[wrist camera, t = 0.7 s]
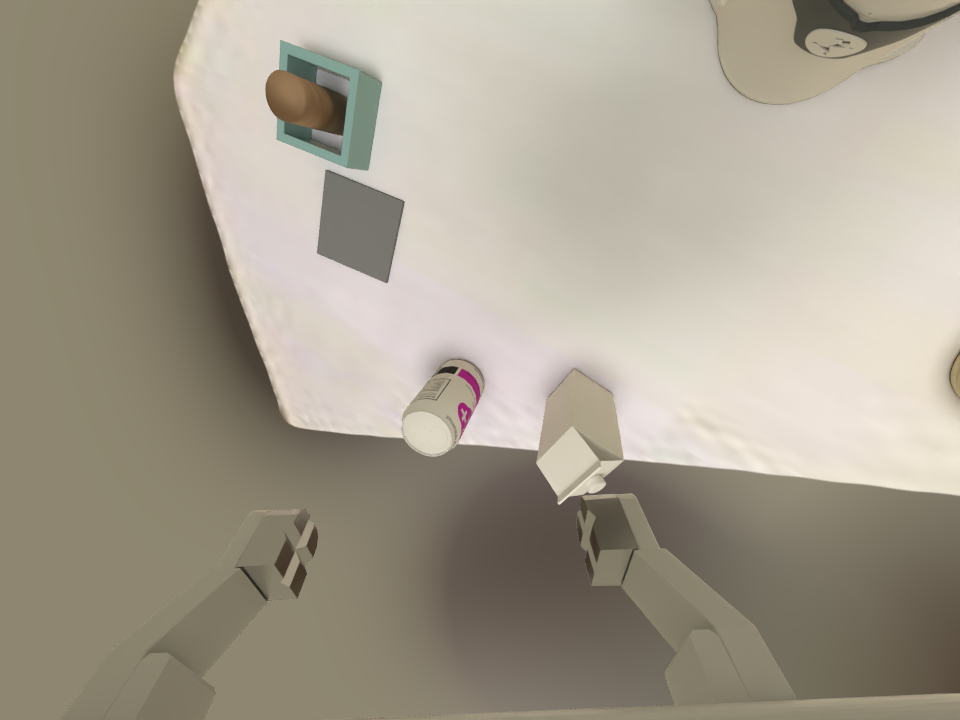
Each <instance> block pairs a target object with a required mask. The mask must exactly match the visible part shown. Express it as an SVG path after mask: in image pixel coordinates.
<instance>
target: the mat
mask: <svg viewBox="0 0 960 720" xmlns="http://www.w3.org/2000/svg"><path fill="white" fill-rule="evenodd" d="M403 207H404V201H402V200H399V199H397V198H394V197H392V196H389V195H387V194H384V193H382V192H380V191H377V190H375V189H372V188H370V187H367V186H365V185H362V184H360V183H357V182H355V181H353V180H350V179H348V178H345V177H343V176H340V175H338V174H335V173H333V172H331V171H328V170H326V171H325V181H324V191H323V200H322V210H321V220H320V230H319V240H318V250H317V253H318V254H320V255H322V256H325V257H327V258H329V259H332V260H334V261H336V262H339V263H341V264H343V265H346V266H348V267H350V268H353V269H355V270H357V271H360V272H362V273H364V274H367V275H369V276H371V277H373V278H376V279H378V280H380V281H383V282H385V283H387V282H388V278H389V274H390V269H391V264H392V259H393V254H394V250H395V245H396V240H397V235H398V231H399V226H400V221H401V216H402V212H403Z"/></svg>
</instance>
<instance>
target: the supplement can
mask: <svg viewBox="0 0 960 720" xmlns="http://www.w3.org/2000/svg"><path fill="white" fill-rule="evenodd" d="M483 389H484V381H483V378H482V376H481V374H480V372H479V371H478V370H477V369H476V368H475V367H474V366H473V365H472V364H470V363H468V362H466V361H462V360H451V361H448V362H446V363H444V364H442V365H441V367H440V368H439V369H438V370H437V372H436V373H435V374H434V375H433V376H432V378H431V379H430V380H429V381H428V383H427V384H426V385H425V386H424V387H423V389H422V390H421V391H420V392H419V394H418V395H417V396H416V397H415V398H414V400H413V401H412V402H411V403H410V405H409V406H408V407H407V409H406V410H405V411H404V413H403V418H402V427H401V430H402V435H403V437H404V439H405V441H406V442H407V444H408V445H409V446H410V447H411V448H412V449H413V450H415V451H417V452H419V453H421V454H423V455H427V456H440V455H442V454H444V453H446V452H447V451H449V450H451V449H453V448H454V447H455V445H456V444H457V443H458V442H459V440H460V438H461V436H462V434H463V432H464V430H465V428H466V426H467V424H468V422H469V420H470V418H471V416H472V414H473V412H474V410H475V408H476V406H477V404H478V402H479V399H480V397H481V395H482V393H483Z"/></svg>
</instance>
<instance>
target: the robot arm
mask: <svg viewBox="0 0 960 720" xmlns="http://www.w3.org/2000/svg"><path fill="white" fill-rule="evenodd" d="M710 2H711V4H712V7H713V9H714V11H715V13H716V15H717V20H718V51H719V57H720V61H721V65H722V68H723V70H724V72H725V74H726V76H727V78H728V80H729V81H730V83H731V84H732V85H733V86H734V87H735V88H736V89H737V90H738V91H739V92H740V93H742V94H743V95H745V96H746V97H748V98H750V99H752V100H755V101H758V102H762V103H767V104H788V103H794V102H799V101H803V100H806V99H809V98H812V97H814V96H817V95H819V94H821V93H823V92H825V91H827V90H829V89H831V88H833V87H834V86H836V85H838V84H839V83H841V82H842V81H844V80H845V79H847V78H848V77H850V76H851V75H853V74H854V73H856V72H857V71H859V70H861V69H863V68H865V67H867V66H870V65H873V64H877V63H880V62H884V61H887V60H890V59H892V58H895V57H897V56H899V55H901V54H903V53H905V52H906V51H908V50H910V49H911V48H913V47H914V46H915V45H917V44H918V42H919V41H920V40H921V39H922V37H923V36H924V34H925V32H927V31H928V30H930V29H932V28H933V27H935V26H936V25H938V24H940V23H941V22H943V21H945V20H947V19H949V18H951V17H952V16H954V15H956V14H957V13H959V12H960V0H710ZM579 506H580V509H581V510H580V511H579V512H578V513H577V520H576V522H577V533H578V538H579V541H580V545H581V547H582V548H583V549H584V550H585V551H586V558H585V564H586V568H587V571H588V575H589V579H590V583H591V585H592V586H605V585H606V586H607V585H622V588H623V589H624V590H625V592H626V593H627V594H628V595H629V596H630V598H631V599H632V600H633V601H634V602H635V604H636V605H637V606H638V607H639V608H640V610H641V611H642V612H643V613H644V614H645V616H646V617H647V618H648V619H649V620H650V621H651V623H652V624H653V625H654V626H655V627H656V629H657V630H658V631H659V632H660V633H661V635H662V636H663V637H664V638H665V639H666V641H667V642H668V643H669V644H670V645H671V647H672V648H673V649H674V650H675V651H676V653H677V654H676V656H675V657H674V659H673V660H672V662H671V664H670V665H669V666H668V668H667V670H666V672H665V674H664V675H665V678H666V681H667V684H668V686H669V689H670V692H671V695H672V697H673V701H674V703H675V705H665V706H643V707H642V706H641V707H618V708H617V707H616V708H594V709H569V710H545V711H522V712H498V713H473V714H450V715H428V716H427V715H425V716H403V717H378V718H354V719H332V720H960V693H958V694H928V695H903V696H879V697H855V698H832V699H807V700H797V698H796V696H795V695H794V693H793V691H792V689H791V688H790V686H789V684H788V683H787V681H786V679H785V677H784V676H783V674H782V672H781V670H780V669H779V667H778V665H777V663H776V662H775V660H774V658H773V656H772V655H771V653H770V651H769V650H768V648H767V646H766V645H765V643H764V641H763V639H762V637H761V636H760V634H759V632H758V630H757V629H756V627H755V626H754V625H753V624H752V623H751V622H750V621H749V620H747V619H746V618H745V617H744V616H743V615H742V614H740V613H739V612H738V611H737V610H736V609H735V608H733V607H732V606H731V605H730V604H729V603H728V602H727V601H725V600H724V599H723V598H722V597H721V596H720V595H718V594H717V593H716V592H715V591H713V589H711V588H710V587H709V586H708V585H707V584H706V583H705V582H703V581H702V580H701V579H700V578H699V577H698V576H696V575H695V574H694V573H693V572H692V571H691V570H690V569H688V568H687V567H686V566H685V565H684V564H683V563H681V562H680V561H679V560H678V559H677V558H676V557H674V556H673V555H672V554H671V553H670V552H669V551H667V550H666V549H660V548H659V545H658V543H657V541H656V539H655V537H654V535H653V532H652V531H651V528H650V526H649V524H648V522H647V520H646V518H645V515H644V513H643V511H642V509H641V507H640V504H639V502H638V500H637V498H636V497H635V496H634V495H633V494H617V495H614V494H607V495H592V496H581V498H580V501H579ZM309 517H310V515H309V513H308V511H307V510H306V509H295V510H262V511H252V512H251V513H250V514H249V515H248V516H246V518H245V520H244V521H243V523H242V525H241V526H240V528H239V530H238V531H237V533H236V535H235V536H234V538H233V540H232V541H231V543H230V545H229V547H228V548H227V550H226V551H225V553H224V555H223V557H222V558H221V560H220V561H219V563H218V565H217V567H216V568H215V569H209V570H208V571H207V572H206V573H204V574H203V575H202V576H201V577H200V578H199V579H197V580H196V581H195V582H193V583H192V584H191V585H190V586H189V587H187V588H186V589H185V590H184V591H183V592H181V593H180V594H179V595H178V596H176V597H175V598H174V599H173V600H171V602H169V603H168V604H167V605H165V606H164V607H163V608H162V609H161V610H159V611H158V612H157V613H156V614H155V615H153V616H152V617H151V618H150V619H148V620H147V621H146V622H145V623H143V624H142V625H141V626H140V627H139V628H137V629H136V630H135V631H134V632H132V633H131V634H130V635H129V636H128V637H126V638H125V639H124V640H123V641H121V643H119V644H118V645H117V646H115V647H114V648H113V649H112V650H111V651H109V652H108V653H107V654H106V656H105V657H104V659H103V660H102V661H101V663H100V664H99V666H98V667H97V669H96V670H95V671H94V673H93V674H92V676H91V677H90V678H89V680H88V682H87V683H86V684H85V685H84V687H83V688H82V690H81V691H80V692H79V694H78V695H77V697H76V698H75V700H74V701H73V702H72V704H71V705H70V707H69V708H68V710H67V711H66V712H65V714H64V715H63V717H62V718H61V719H60V720H204V719H205V717H206V715H207V713H208V710H209V708H210V706H211V704H212V701H213V699H214V697H215V695H216V692H215V688H214V687H213V686H212V685H210V684H209V683H208V682H206V681H205V680H204V679H202V677H203V676H204V675H205V673H207V671H208V670H209V669H210V668H211V667H212V665H213V664H214V663H215V662H216V661H217V660H218V659H219V658H220V656H221V655H222V654H223V653H224V652H225V651H226V649H227V648H228V647H229V646H230V645H231V644H232V643H233V641H234V640H235V639H236V638H237V637H238V636H239V634H241V632H242V631H243V630H244V629H245V628H246V627H247V626H248V624H249V623H250V622H251V621H252V620H253V619H254V618H255V616H256V615H257V614H258V613H259V612H260V611H261V610H262V608H263V607H264V606H265V605H266V604H267V601H272V600H285V599H297V598H298V596H299V593H300V591H301V588H302V585H303V583H304V580H305V577H306V575H307V572H306V569H305V565H306V564H307V563H308V562H309V561H310V560H311V559H312V558H313V556H314V553H315V550H316V548H317V540H318V533H317V529H316V527H315V525H314V524H313V523H311V522H309V521H308V520H309Z"/></svg>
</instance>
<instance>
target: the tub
mask: <svg viewBox="0 0 960 720" xmlns="http://www.w3.org/2000/svg"><path fill="white" fill-rule="evenodd" d="M317 68H318V69H321V70H323V71H326V72H329V73H331V74H334V75H336V76H339V77H342V78H344V79H347V80H349V81H350V83H349V91H348V100H347V108H346V116H345V125H344V133H343V142H342V150H341V151H340V150H337V149H335V148H332V147H330V146H327V145H325V144H322V143H320V142H317V141H315V140H312V139H311V133H312V128H308V127H304V126H300V125H296V124H292V123H288V122H285V121H282V120H280V119H279V118H277V140H279V141H282V142H284V143H287V144H289V145H291V146H294V147H296V148H299V149H301V150H304V151H306V152H309V153H311V154H314V155H316V156H319V157H321V158H324V159H326V160H328V161H331V162H333V163H336V164H338V165H341V166H343V167H346V168H351V169H360V170H368V169H369V163H370V156H371V150H372V143H373V137H374V130H375V124H376V118H377V111H378V105H379V98H380V92H381V85H382V83H381V82H380V81H378V80H376V79H374V78H373V77H371V76H369V75H367V74H365V73H364V72H362V71H360V70H358V69H355V68H353V67H350V66H347V65H345V64H342V63H340V62H337V61H334V60H332V59H329V58H326V57H324V56H321V55H319V54H316V53H313V52H311V51H308V50H305V49H303V48H300V47H298V46H295V45H292V44H290V43H287V42H285V41H282V40H280V63H279V70H284V71H287V72H289V73H291V74H294V75H296V76H299V77H301V78H303V79H306V80H308V81H310V82H313V83H316V70H317Z"/></svg>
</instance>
